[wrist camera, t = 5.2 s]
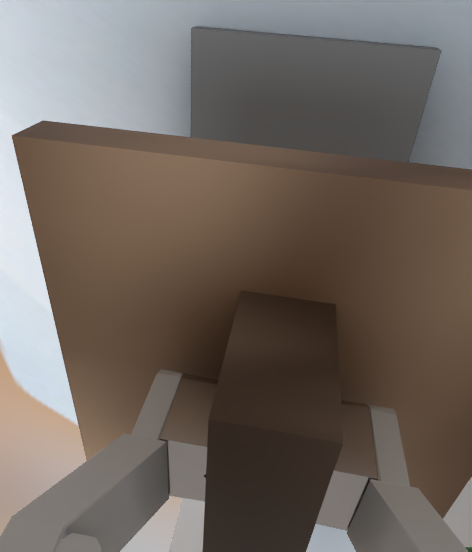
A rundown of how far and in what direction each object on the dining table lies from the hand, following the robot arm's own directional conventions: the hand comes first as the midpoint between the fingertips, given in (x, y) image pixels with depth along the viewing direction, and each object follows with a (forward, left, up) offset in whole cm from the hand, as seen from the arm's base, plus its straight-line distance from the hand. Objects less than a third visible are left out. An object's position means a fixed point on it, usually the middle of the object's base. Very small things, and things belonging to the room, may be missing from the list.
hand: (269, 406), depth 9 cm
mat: (0, 0, -17) cm, 17 cm away
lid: (0, 0, -2) cm, 2 cm away
